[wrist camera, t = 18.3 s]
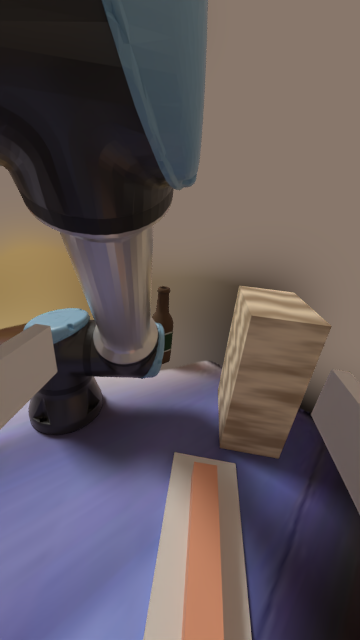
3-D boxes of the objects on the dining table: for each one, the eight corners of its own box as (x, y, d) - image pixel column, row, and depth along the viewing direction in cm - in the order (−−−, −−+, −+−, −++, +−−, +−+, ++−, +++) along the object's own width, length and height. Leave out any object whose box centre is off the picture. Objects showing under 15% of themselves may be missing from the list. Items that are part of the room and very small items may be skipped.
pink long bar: (191, 476, 42) (194, 461, 40) (213, 480, 42) (217, 465, 40) (161, 958, 15) (165, 973, 13) (225, 978, 14) (238, 994, 13)
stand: (217, 390, 65) (239, 285, 52) (261, 397, 64) (293, 292, 52) (219, 447, 48) (251, 315, 36) (278, 458, 47) (331, 326, 35)
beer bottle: (174, 356, 78) (181, 287, 69) (163, 367, 72) (169, 293, 62) (155, 349, 81) (159, 282, 71) (142, 359, 75) (145, 287, 65)
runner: (174, 453, 46) (174, 452, 46) (235, 464, 45) (235, 463, 45) (118, 793, 19) (117, 792, 19) (269, 840, 18) (270, 840, 18)
